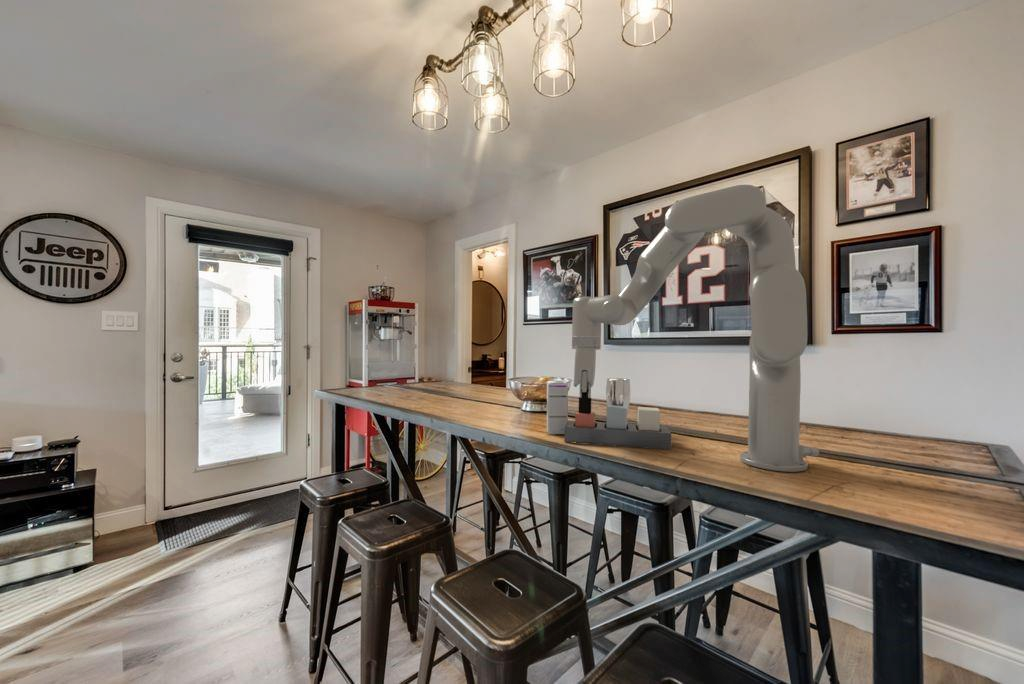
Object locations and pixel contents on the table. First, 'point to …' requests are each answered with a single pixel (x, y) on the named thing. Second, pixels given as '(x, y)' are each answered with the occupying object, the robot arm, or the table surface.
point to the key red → (585, 419)
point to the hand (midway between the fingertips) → (584, 412)
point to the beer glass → (618, 392)
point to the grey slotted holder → (618, 436)
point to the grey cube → (616, 417)
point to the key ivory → (648, 419)
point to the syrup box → (557, 406)
